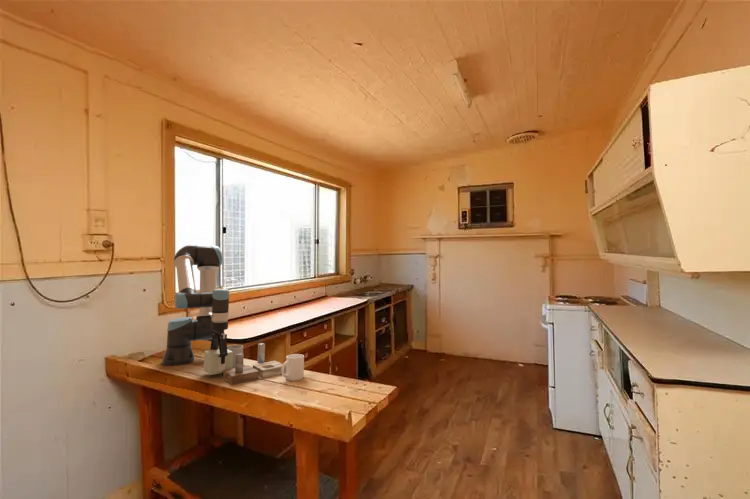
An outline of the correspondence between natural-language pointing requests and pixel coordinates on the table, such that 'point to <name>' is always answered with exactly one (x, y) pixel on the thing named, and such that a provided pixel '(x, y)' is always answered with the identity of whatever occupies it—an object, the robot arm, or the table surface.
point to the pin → (261, 353)
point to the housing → (216, 361)
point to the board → (241, 376)
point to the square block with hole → (269, 368)
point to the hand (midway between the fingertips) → (218, 367)
